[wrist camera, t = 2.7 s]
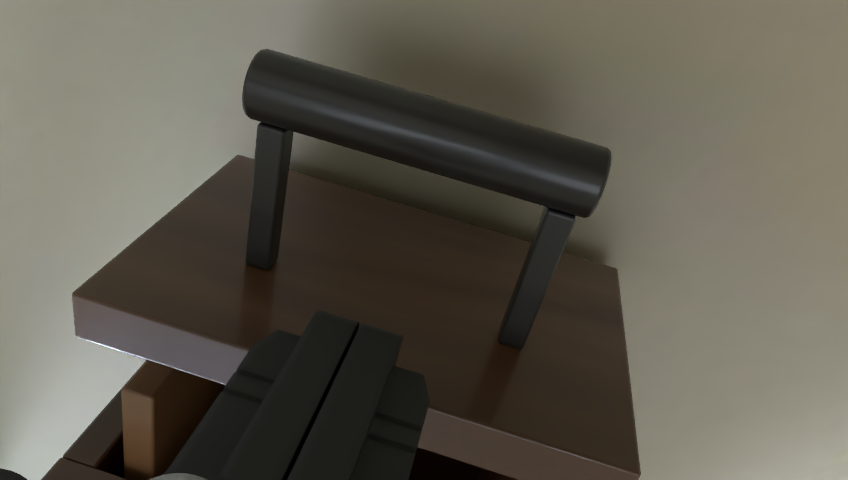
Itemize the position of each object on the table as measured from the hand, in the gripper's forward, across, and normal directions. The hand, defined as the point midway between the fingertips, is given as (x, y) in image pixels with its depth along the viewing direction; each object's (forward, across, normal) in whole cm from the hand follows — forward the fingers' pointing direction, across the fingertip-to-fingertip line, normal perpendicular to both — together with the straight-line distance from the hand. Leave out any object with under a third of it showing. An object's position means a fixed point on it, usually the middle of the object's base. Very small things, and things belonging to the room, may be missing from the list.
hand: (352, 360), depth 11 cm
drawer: (+8, 0, +6) cm, 10 cm away
